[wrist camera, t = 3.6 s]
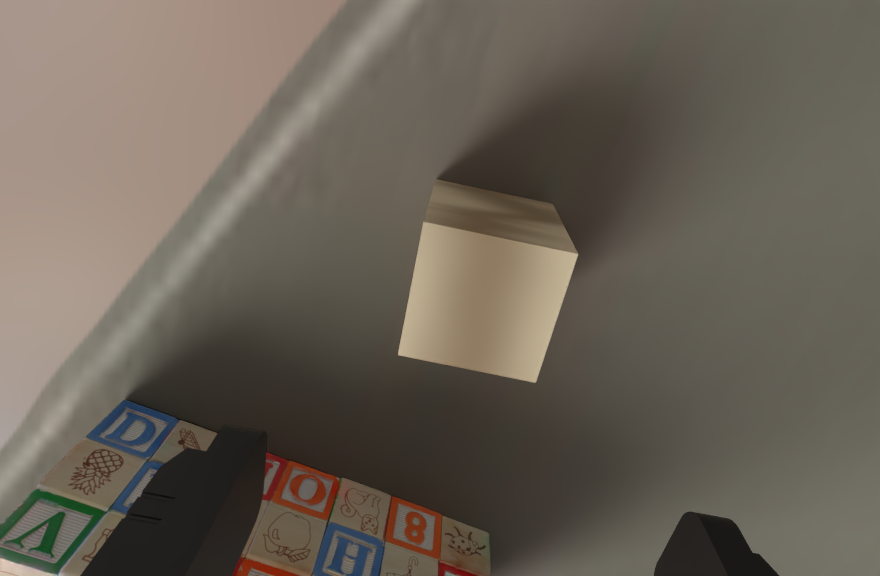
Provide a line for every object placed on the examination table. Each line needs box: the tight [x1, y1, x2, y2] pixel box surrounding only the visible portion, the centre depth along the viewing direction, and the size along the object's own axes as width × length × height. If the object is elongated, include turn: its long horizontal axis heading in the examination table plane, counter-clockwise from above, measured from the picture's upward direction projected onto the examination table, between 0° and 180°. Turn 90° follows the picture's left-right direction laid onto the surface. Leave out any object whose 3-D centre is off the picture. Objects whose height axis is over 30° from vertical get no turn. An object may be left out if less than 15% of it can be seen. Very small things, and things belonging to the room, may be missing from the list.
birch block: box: [398, 179, 578, 383], centre depth 21 cm, size 5×5×6 cm
